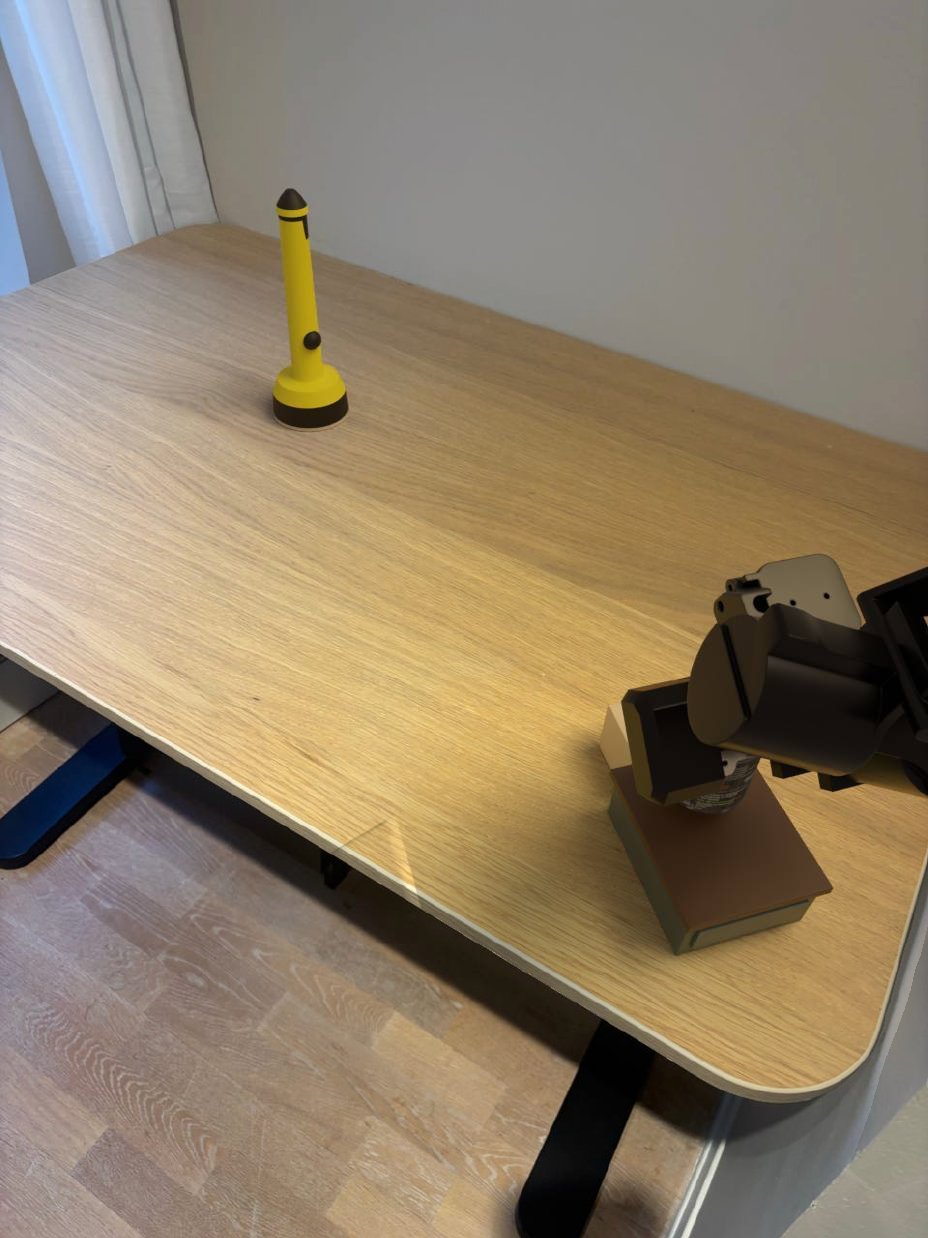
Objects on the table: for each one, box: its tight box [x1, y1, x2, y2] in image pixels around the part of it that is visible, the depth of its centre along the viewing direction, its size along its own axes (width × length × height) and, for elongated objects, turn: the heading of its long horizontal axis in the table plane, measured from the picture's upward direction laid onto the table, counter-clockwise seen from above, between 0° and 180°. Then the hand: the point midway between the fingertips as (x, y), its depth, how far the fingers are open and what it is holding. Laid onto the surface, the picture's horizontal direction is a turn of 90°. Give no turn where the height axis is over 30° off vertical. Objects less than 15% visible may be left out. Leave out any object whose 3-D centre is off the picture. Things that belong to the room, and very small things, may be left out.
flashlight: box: [272, 187, 350, 433], centre depth 95 cm, size 25×9×9 cm
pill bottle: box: [679, 756, 762, 814], centre depth 56 cm, size 6×6×11 cm
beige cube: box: [598, 702, 632, 770], centre depth 67 cm, size 5×5×5 cm
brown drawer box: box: [607, 764, 834, 957], centre depth 61 cm, size 12×10×5 cm
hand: (713, 703), depth 57 cm, fingers closed on pill bottle, 6 cm apart
